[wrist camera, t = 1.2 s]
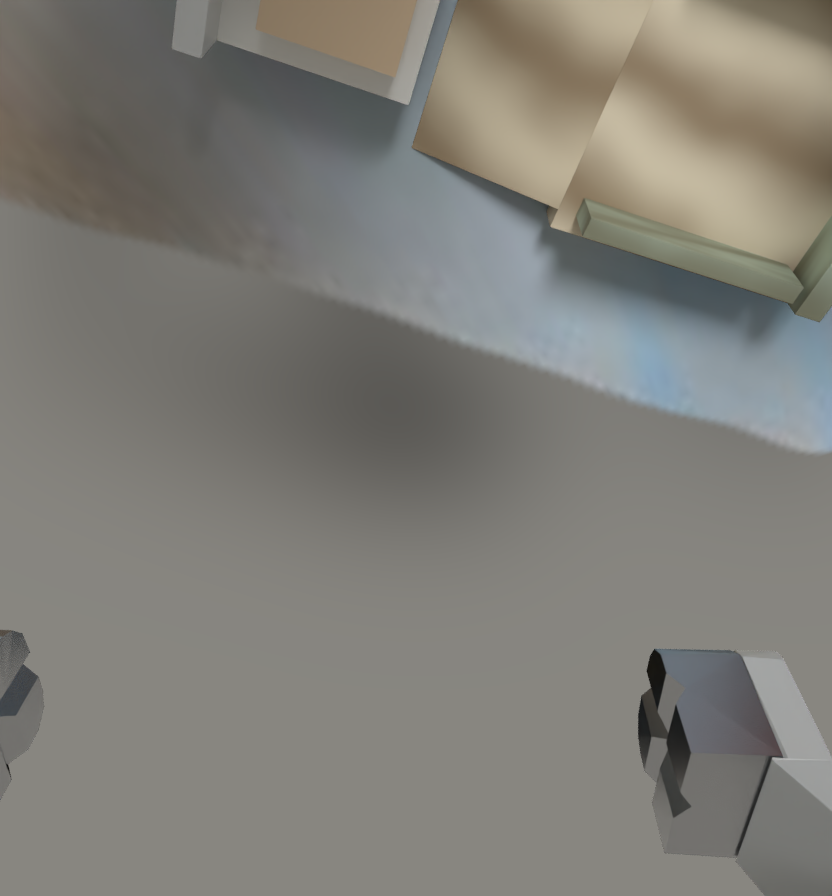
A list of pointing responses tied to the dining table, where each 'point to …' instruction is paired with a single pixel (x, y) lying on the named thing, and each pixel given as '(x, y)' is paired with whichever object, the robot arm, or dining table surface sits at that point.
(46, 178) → the dining table surface
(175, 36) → the cart
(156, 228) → the dining table surface
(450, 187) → the dining table surface
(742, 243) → the dock
